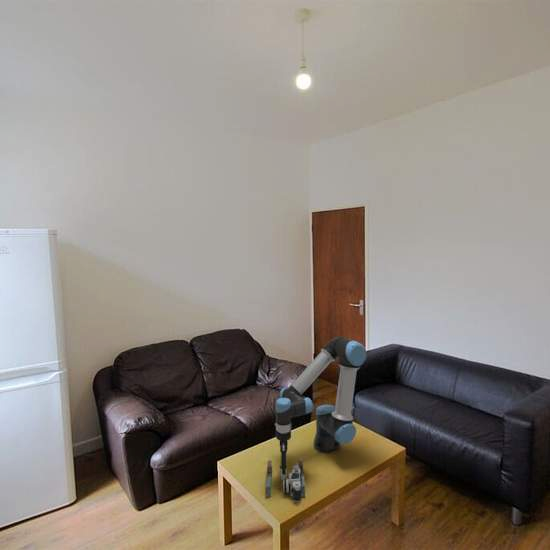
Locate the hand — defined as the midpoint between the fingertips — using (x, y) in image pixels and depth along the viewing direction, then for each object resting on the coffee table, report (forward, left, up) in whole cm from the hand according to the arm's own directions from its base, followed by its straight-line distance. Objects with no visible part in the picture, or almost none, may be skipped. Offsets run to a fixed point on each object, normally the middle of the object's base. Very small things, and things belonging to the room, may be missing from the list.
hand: (283, 470), depth 182 cm
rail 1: (+7, +4, -3) cm, 9 cm away
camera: (-4, +10, -3) cm, 12 cm away
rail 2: (-9, +4, -3) cm, 10 cm away
